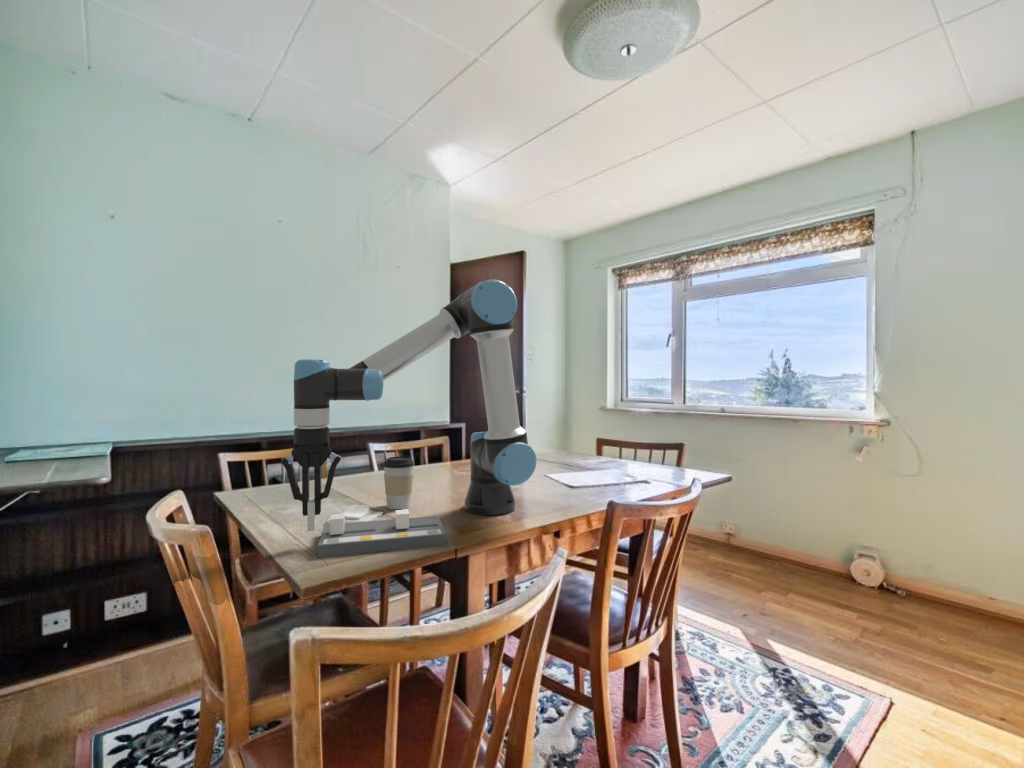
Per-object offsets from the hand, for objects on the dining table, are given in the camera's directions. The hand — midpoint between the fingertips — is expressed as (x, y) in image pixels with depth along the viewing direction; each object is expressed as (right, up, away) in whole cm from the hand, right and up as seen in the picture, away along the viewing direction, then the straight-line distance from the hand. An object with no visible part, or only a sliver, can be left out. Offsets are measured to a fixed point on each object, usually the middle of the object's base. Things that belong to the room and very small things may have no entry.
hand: (311, 528), depth 109 cm
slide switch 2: (+19, -1, +6) cm, 20 cm away
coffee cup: (+12, -4, +33) cm, 36 cm away
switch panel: (+15, -4, +5) cm, 16 cm away
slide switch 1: (+5, -1, +2) cm, 6 cm away
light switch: (+3, -5, +21) cm, 22 cm away
